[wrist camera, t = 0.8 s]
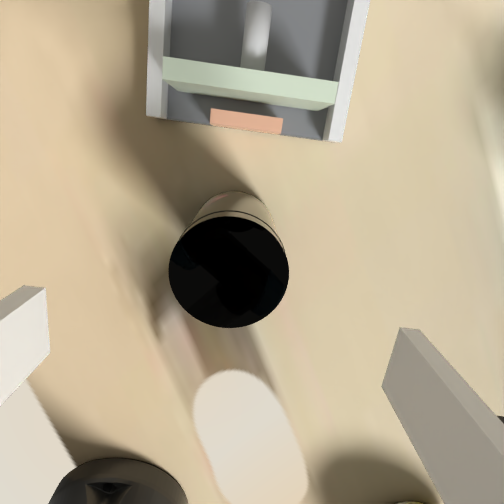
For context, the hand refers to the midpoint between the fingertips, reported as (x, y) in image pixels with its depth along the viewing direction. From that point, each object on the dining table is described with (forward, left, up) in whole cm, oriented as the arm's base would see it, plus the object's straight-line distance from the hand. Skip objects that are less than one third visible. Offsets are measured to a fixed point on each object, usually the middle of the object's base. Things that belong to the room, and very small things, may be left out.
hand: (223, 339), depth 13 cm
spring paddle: (+9, +8, -16) cm, 20 cm away
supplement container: (0, 0, -17) cm, 17 cm away
